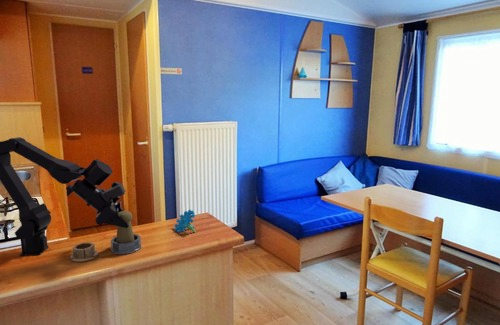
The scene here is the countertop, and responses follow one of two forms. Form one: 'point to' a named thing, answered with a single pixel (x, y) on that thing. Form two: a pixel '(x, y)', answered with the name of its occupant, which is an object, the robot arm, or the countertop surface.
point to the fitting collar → (126, 246)
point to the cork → (125, 229)
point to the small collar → (84, 252)
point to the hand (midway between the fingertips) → (128, 224)
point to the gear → (185, 221)
